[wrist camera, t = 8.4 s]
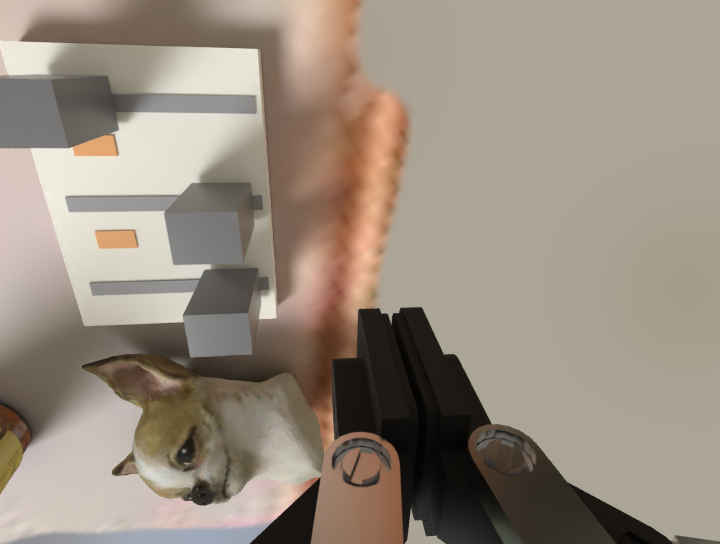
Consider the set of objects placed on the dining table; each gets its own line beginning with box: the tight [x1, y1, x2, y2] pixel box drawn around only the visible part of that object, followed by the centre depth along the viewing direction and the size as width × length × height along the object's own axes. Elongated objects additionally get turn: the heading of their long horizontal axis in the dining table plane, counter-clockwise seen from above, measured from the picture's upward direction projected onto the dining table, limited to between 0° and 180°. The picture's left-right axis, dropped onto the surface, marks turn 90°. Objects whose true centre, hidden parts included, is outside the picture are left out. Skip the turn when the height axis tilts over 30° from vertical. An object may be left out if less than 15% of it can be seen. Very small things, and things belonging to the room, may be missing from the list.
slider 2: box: [164, 183, 255, 265], centre depth 21 cm, size 2×3×5 cm
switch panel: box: [0, 41, 278, 326], centre depth 24 cm, size 15×11×2 cm
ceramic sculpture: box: [82, 354, 324, 505], centre depth 27 cm, size 11×9×15 cm
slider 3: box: [183, 268, 261, 357], centre depth 23 cm, size 2×3×5 cm
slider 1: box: [0, 74, 119, 148], centre depth 18 cm, size 2×3×5 cm
